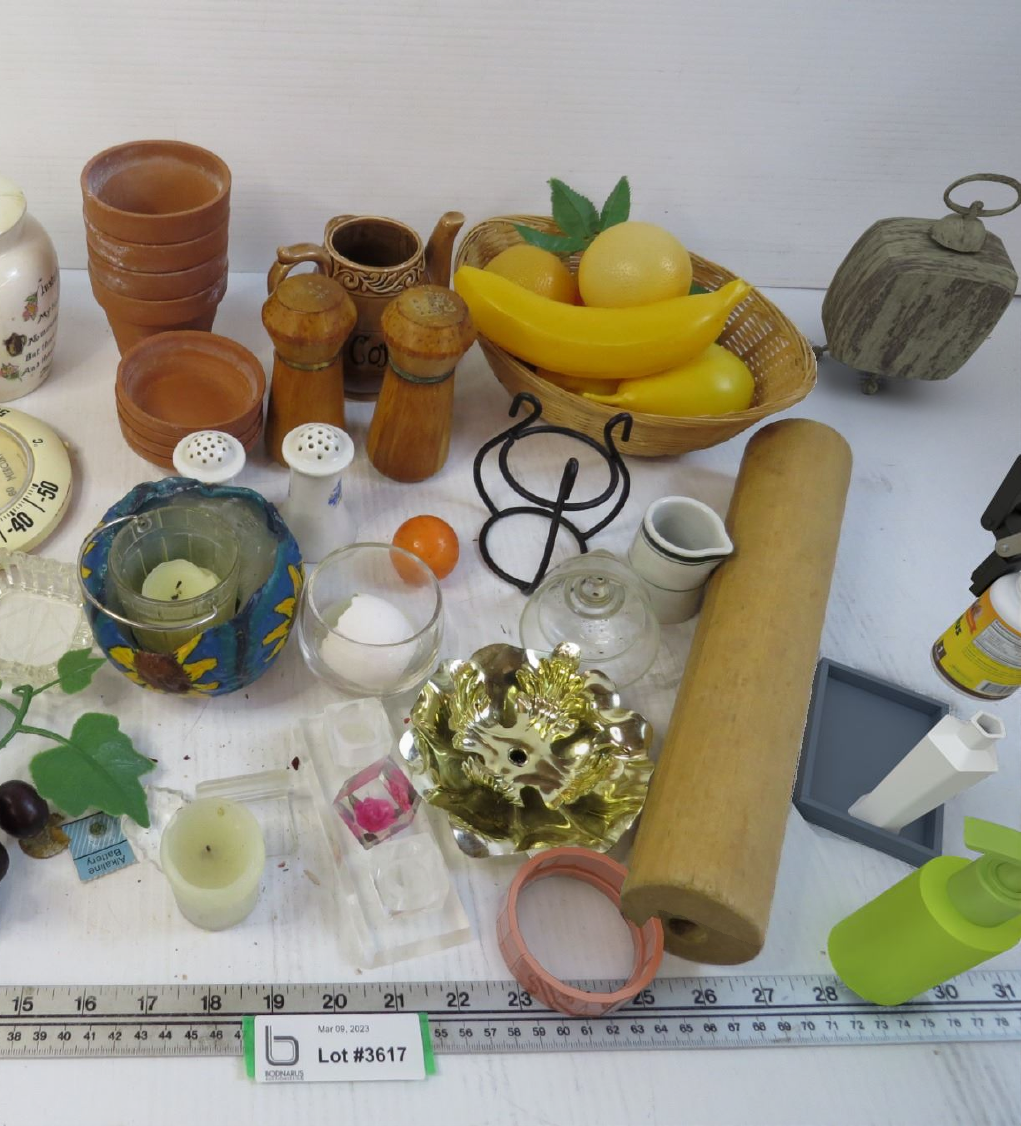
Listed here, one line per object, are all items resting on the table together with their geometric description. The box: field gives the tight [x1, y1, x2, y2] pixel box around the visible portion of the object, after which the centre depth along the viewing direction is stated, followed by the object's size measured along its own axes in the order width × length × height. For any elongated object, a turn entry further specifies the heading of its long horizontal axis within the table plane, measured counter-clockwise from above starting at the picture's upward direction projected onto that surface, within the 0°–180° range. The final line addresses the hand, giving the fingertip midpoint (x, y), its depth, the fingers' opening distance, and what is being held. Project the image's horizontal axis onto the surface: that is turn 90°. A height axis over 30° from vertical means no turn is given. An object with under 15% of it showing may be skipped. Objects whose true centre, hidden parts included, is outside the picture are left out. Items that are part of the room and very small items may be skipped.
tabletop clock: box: [811, 172, 1021, 395], centre depth 100 cm, size 14×9×25 cm, turn 77°
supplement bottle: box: [929, 571, 1021, 703], centre depth 64 cm, size 6×6×10 cm
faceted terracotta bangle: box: [495, 846, 665, 1018], centre depth 66 cm, size 10×10×5 cm
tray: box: [791, 656, 950, 869], centre depth 78 cm, size 15×10×2 cm
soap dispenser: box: [827, 815, 1021, 1007], centre depth 60 cm, size 6×7×20 cm
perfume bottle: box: [848, 709, 1007, 835], centre depth 69 cm, size 5×4×15 cm
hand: (1017, 626), depth 63 cm, fingers closed on supplement bottle, 5 cm apart
